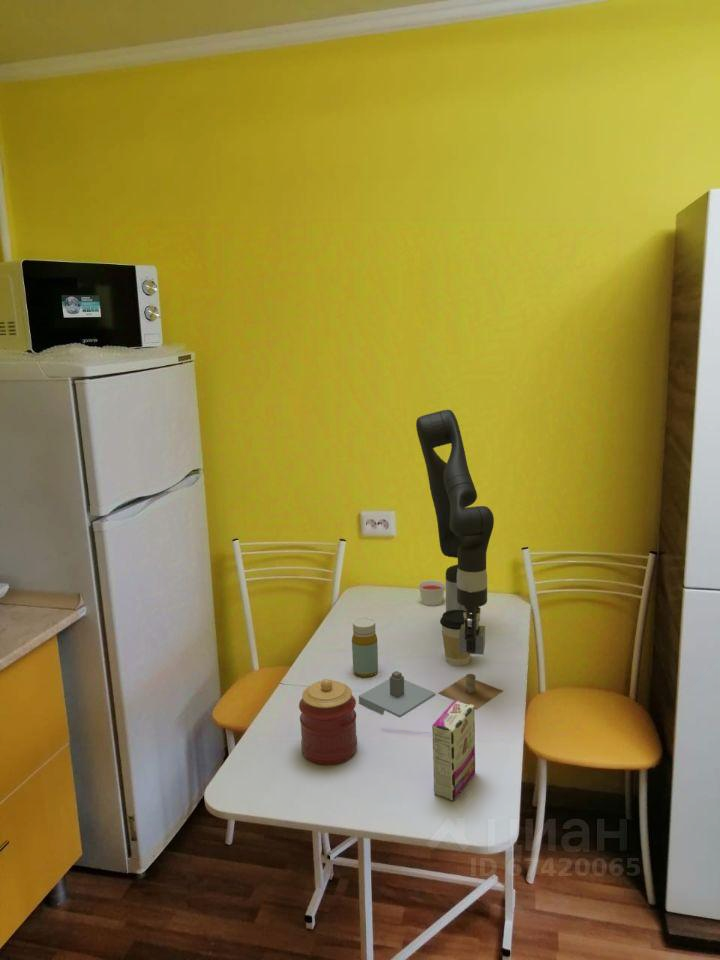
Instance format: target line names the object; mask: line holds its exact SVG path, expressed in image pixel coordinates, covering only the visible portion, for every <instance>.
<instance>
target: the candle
mask: <svg viewBox="0 0 720 960" xmlns="http://www.w3.org/2000/svg"><path fill="white" fill-rule="evenodd" d="M418 588H419V594H420V599H421V603H422V604H423V605H426V606H432V607H433V606H439V605H441V604H442V602H443V599H444V594H445V590H446V583H444V582H442V581H440V580H434V579H433V580H432V579H431V580H430V579H429V580H424V581H421V582H419V583H418Z"/></svg>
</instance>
